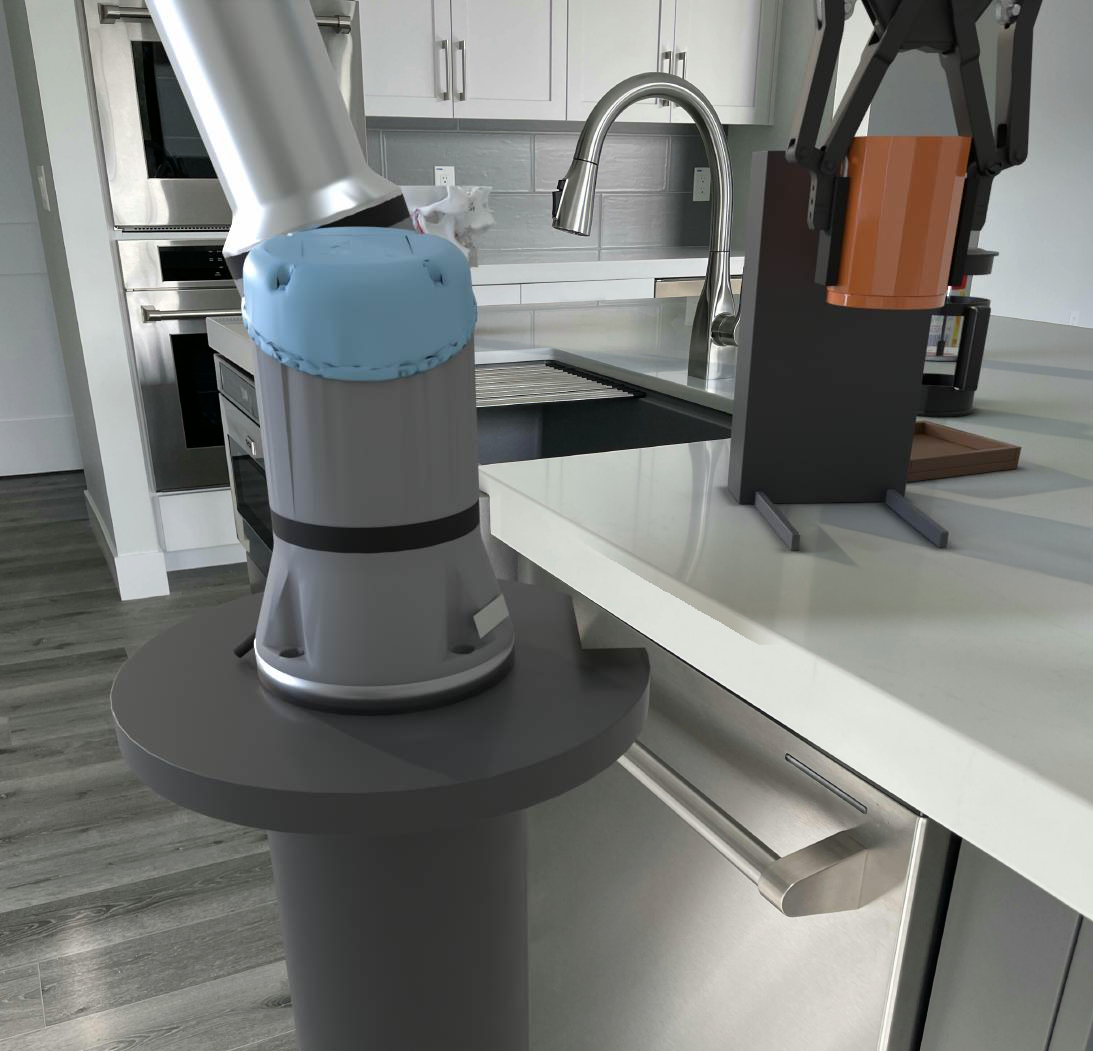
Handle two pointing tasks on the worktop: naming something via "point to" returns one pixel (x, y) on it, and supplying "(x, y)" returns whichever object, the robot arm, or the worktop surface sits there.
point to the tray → (956, 453)
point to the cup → (900, 221)
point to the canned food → (947, 322)
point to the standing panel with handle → (817, 373)
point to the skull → (451, 214)
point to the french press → (957, 391)
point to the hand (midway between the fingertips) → (887, 284)
